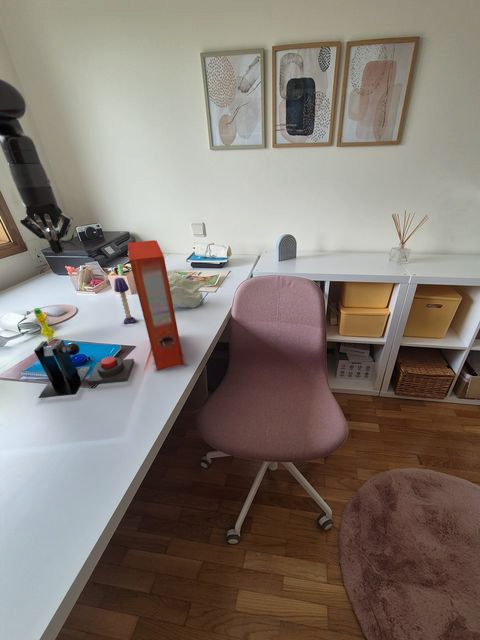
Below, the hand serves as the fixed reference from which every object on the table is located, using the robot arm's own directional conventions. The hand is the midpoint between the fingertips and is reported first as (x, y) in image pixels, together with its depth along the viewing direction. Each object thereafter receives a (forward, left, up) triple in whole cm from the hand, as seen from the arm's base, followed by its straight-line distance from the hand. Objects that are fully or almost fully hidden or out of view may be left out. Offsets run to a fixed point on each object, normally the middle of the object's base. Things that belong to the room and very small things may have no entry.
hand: (59, 253), depth 86 cm
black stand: (+1, -24, -29) cm, 38 cm away
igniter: (+12, -22, -25) cm, 36 cm away
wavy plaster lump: (+28, +22, -29) cm, 46 cm away
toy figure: (-14, +2, -29) cm, 32 cm away
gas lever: (+1, -20, -22) cm, 30 cm away
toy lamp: (+10, +11, -29) cm, 33 cm away
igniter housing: (+12, -22, -29) cm, 38 cm away
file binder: (+26, -12, -29) cm, 41 cm away
